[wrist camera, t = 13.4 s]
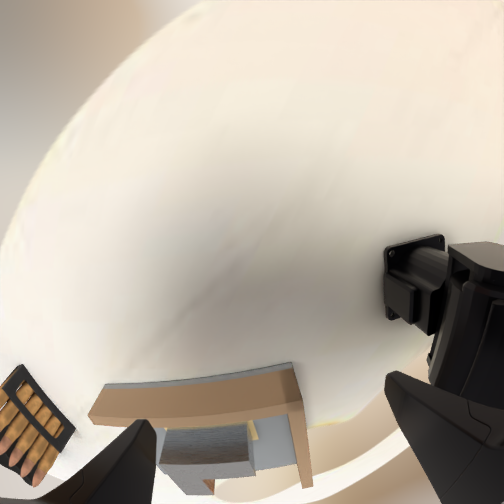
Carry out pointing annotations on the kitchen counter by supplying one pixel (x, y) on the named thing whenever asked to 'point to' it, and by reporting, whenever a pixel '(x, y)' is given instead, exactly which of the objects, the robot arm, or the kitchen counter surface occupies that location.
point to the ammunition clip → (31, 424)
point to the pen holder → (5, 457)
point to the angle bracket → (207, 455)
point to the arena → (220, 411)
